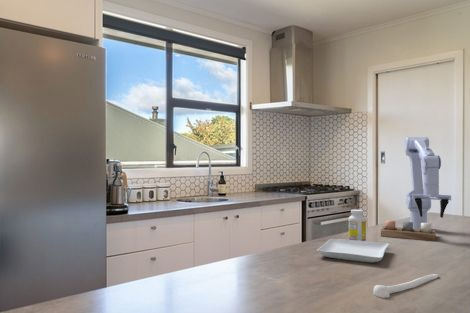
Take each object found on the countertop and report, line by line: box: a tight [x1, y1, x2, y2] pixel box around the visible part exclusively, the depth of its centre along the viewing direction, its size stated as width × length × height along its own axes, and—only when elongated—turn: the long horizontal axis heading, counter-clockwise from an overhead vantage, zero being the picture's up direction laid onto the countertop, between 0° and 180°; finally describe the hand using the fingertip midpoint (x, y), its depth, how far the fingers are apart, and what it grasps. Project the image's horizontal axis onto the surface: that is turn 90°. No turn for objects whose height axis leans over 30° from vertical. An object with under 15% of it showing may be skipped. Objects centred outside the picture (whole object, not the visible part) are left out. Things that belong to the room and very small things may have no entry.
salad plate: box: [316, 238, 390, 264], centre depth 133 cm, size 21×21×3 cm
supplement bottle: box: [348, 209, 367, 241], centre depth 152 cm, size 7×7×13 cm
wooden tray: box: [380, 225, 437, 242], centre depth 164 cm, size 11×21×2 cm, turn 64°
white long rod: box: [372, 273, 440, 299], centre depth 102 cm, size 28×4×3 cm, turn 125°
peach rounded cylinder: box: [385, 219, 396, 230], centre depth 167 cm, size 4×4×4 cm
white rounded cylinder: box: [421, 222, 432, 233], centre depth 161 cm, size 4×4×4 cm
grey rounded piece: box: [402, 220, 413, 231], centre depth 164 cm, size 4×4×4 cm
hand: (431, 216), depth 159 cm, fingers open, 7 cm apart
